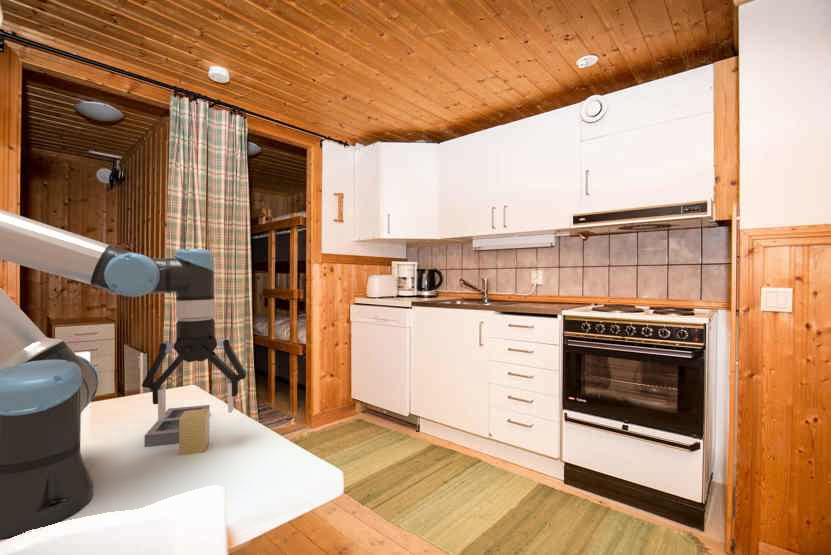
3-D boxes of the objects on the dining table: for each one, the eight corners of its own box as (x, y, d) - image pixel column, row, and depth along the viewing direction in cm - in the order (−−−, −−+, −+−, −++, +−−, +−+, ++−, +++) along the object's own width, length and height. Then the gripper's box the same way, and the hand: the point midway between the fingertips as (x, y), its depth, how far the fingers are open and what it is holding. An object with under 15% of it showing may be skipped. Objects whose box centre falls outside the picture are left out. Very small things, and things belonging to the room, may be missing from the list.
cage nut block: (205, 452, 87) (205, 415, 87) (179, 455, 85) (179, 418, 85) (209, 443, 92) (209, 408, 92) (184, 446, 90) (184, 410, 90)
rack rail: (194, 441, 93) (194, 430, 93) (144, 446, 90) (144, 435, 90) (209, 413, 112) (209, 404, 112) (168, 417, 109) (168, 408, 109)
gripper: (257, 315, 96) (258, 403, 96) (136, 320, 88) (137, 415, 88) (255, 317, 89) (256, 413, 89) (123, 323, 81) (124, 427, 81)
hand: (197, 414), depth 89 cm, fingers open, 13 cm apart
